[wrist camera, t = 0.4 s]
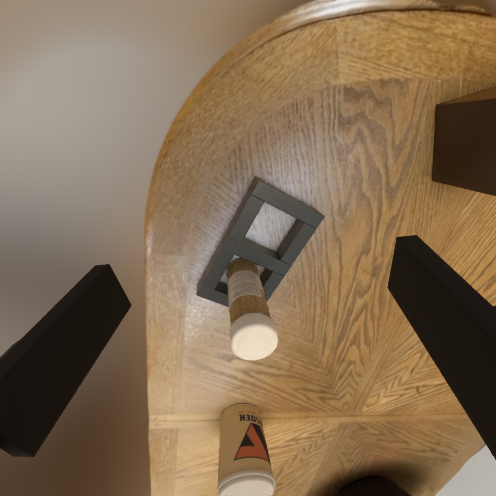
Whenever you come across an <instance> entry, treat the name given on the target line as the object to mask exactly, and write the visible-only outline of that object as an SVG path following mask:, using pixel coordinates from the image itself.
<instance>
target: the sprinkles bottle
mask: <svg viewBox="0 0 496 496" xmlns="http://www.w3.org/2000/svg"><path fill="white" fill-rule="evenodd" d="M226 276H227V278H228V300H229V313H230V320H231V328H230V344H231V348H232V351H233V352H234V353H235V354H236V355H237V356H238V357H240V358H242V359H245V360H259V359H262V358H264V357H266V356H268V355H270V354H271V353H272V352H273V351H274V350H275V348H276V346H277V343H278V335H277V331H276V328H275V325H274V322H273V321H272V319H271V318H270V314H269V310H268V306H267V303H266V299H265V295H264V290H263V287H262V283H261V280H260V278H259V275H258V269H257V266H256V265H255V263H253V262H251V261H248V260H246V259H237V260H234V261H233V262H232V263H231V264H230V265H229V266H228V268H227V272H226Z"/></svg>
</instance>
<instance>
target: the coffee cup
mask: <svg viewBox="0 0 496 496" xmlns="http://www.w3.org/2000/svg"><path fill="white" fill-rule="evenodd" d="M274 487H275V479H274V477H273V473H272V468H271V463H270V458H269V454H268V449H267V445H266V440H265V435H264V431H263V426H262V422H261V417H260V413H259V411H258V409H257V408H256V407H255V406H253V405H250V404H236V405H233V406H230V407H229V408H227V409H226V410H225V411H224V412H223V413H222V416H221V427H220V447H219V469H218V486H217V495H218V496H272V495H273V493H274Z"/></svg>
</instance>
